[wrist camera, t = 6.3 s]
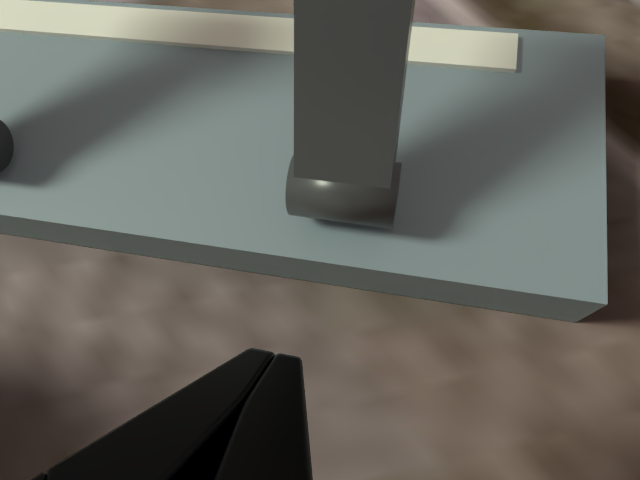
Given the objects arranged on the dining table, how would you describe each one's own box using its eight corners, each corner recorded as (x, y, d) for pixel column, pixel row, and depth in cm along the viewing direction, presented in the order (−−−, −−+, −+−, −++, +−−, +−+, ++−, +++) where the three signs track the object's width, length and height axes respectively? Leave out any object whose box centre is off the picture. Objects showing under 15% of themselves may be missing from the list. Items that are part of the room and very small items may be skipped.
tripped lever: (403, 246, 14) (478, -269, 9) (271, 228, 15) (257, -262, 9) (409, 208, 16) (472, -232, 11) (291, 193, 17) (290, -229, 11)
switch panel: (575, 322, 17) (610, 302, 14) (-158, 208, 22) (-228, 179, 19) (578, 80, 20) (607, 30, 18) (-56, 29, 25) (-104, -16, 22)
